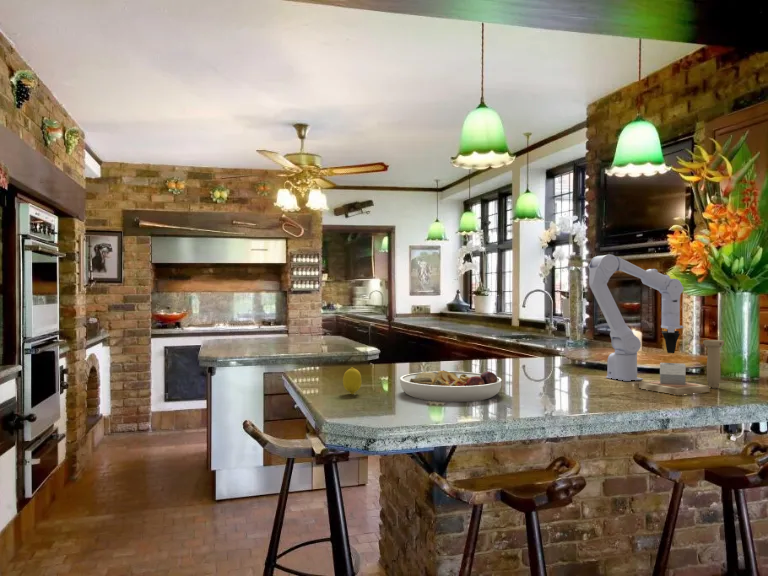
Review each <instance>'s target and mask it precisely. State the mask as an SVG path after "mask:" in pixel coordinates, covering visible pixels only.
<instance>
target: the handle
mask: <svg viewBox="0 0 768 576" xmlns="http://www.w3.org/2000/svg"><path fill="white" fill-rule="evenodd" d="M702 343H703V345H704V346H705V347H707V355H706V356H707V359H706V360H707V361H706V380H707V386H709V387H712V388H711V389H716V388H717V389H719V388H720V383H721V376H722V375H721V373H722V372H721V371H722V370H721V368H722V367H721V356H720V355H721V354H720V353H721V352H720V350H721V349H720V348H721V347H723V346H724V345H725V340H720V339H705V340H703V341H702Z"/></svg>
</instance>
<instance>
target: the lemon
mask: <svg viewBox="0 0 768 576" xmlns="http://www.w3.org/2000/svg"><path fill="white" fill-rule="evenodd" d="M362 382H363V381H362V375H361V372H360V371H359V370H358V369H356V368H354V367H350V368H349V369H347V370H346V371H345V372H344V373H343V377H342V384H343V385H342V386H343V387H344V390H345V391H347V392H348V393H350V395H354V394H355V393H356V392H358V391H359V390H360V388H361V387H362Z"/></svg>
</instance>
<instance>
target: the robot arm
mask: <svg viewBox="0 0 768 576" xmlns="http://www.w3.org/2000/svg"><path fill="white" fill-rule="evenodd" d="M587 267H588V270H589V274H588V276H589V278H588V285H589V288H590V290H591V292H592V294H593V296H594V298H595V301H596V303H597V304H598V307H599V308H600V310H601V313H602V315H603V316H604V319H605V321H606V323H607V325H608V327H609V329H610V333H609V336H610V339H611V341H610V342H611V346H612V348H613V349H614V352H612V353H610V354H609V355H608V357H607V359H606V360H607V365H606V366H607V371H606V374H607V375H606V376H605V379H611V378H612V379H611V380H616V379H618V380H617V381H622V380H623V382H632V381H631V380H635V381H643V379H644V378H643V377H642V378H641V377H638V352H639V351H640V349H641V346H642V344H641V340H640V338H639V337H638V336H636V335H635V333H634V332H633V330H632V329H631V328H630V327H629V326H628V325H627V324H626V322H625V320H624V317H623V316H622V313H621V311H620V309H619V307H618V305H617V303H616V301H615V299H614V297H613V294H612V293H611V291H610V289H609V286H608V283H609V281H610V278H611V277H612V276H613V275H614V274H615V272H618V271H619V272H623V273H626V274H627V275H630V276H633V277H635V278H637V279H640V281H641V282H642V283H641V284H643V285H645V286H647V287H650V288H652V289H654V290H657V291H658V292H659V293H660V295H661V325H660V328H662V329H666V330H661V334H662V336H663V338H664V342H665V348H666V353H667V354H675V352H676V347H677V342H678V339H679V337H680V335H681V333H680V331H679V329H684V325H680V323H681V322H680V321H681V318H680V317H681V316H680V315H681V312H680V311H681V308H680V307H681V294H682V293H683V292H684V289H685V287H684V286H683V284H682V282H681V281H680V280H679V279H677V278H671V277H670V275H669V274H663V273H660V272H659V271H658V269H656V268H649V269H646V270H645V269H644V268H641V267H640V266H638V265H635V264H633V263H631V262H629V261H628V260H626V259H624V258H622V257H619V256H616V255H614V254H605V255H597V256H593V258H591V260H590V263H589V264H588V266H587Z"/></svg>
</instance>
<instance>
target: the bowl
mask: <svg viewBox="0 0 768 576" xmlns="http://www.w3.org/2000/svg"><path fill="white" fill-rule="evenodd" d="M502 381H503V380H502V378H501V377H499V376H497V375H496V373H494V372H492V371H483V372H481V373H479V372H478V373H477V372H471V371H470V372H468V371H447V370H443V369H442V370H438V371H422V372H415V373H409V374H404V375H402V376H400V378H399V384H400V387H401V390H402V391H404V393H405V394H407V396H410V397H413V398H415V399H418V400H423V399H424V401H432V402H434V401H435V402H445V403H446V402H450V403H462V402H463V403H464V402H477V401H484V400H487V399H488V400H489V399H491V398H493V397H495V396H496V395H498V393H499V392H500V390H501V387H502Z"/></svg>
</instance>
